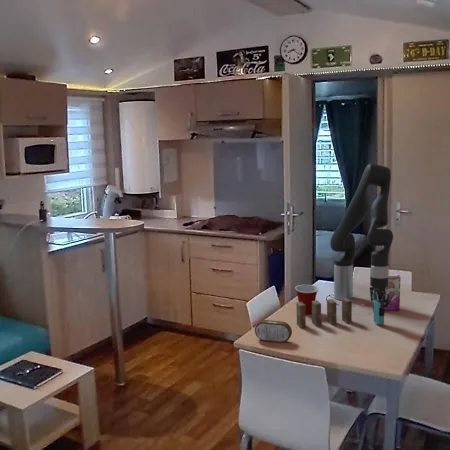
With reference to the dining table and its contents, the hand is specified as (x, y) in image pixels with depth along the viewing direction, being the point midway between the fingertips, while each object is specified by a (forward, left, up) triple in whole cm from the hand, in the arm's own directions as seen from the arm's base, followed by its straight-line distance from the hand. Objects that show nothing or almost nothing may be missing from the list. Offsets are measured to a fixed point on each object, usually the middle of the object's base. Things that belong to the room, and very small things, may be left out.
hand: (378, 313), depth 242 cm
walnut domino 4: (-8, -11, -5) cm, 15 cm away
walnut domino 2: (-8, -25, -5) cm, 27 cm away
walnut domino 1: (-8, -32, -5) cm, 34 cm away
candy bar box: (-19, +13, -5) cm, 24 cm away
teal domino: (0, 0, -4) cm, 4 cm away
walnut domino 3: (-8, -18, -5) cm, 20 cm away
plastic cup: (-25, -24, -5) cm, 35 cm away
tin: (+6, -49, -5) cm, 50 cm away
